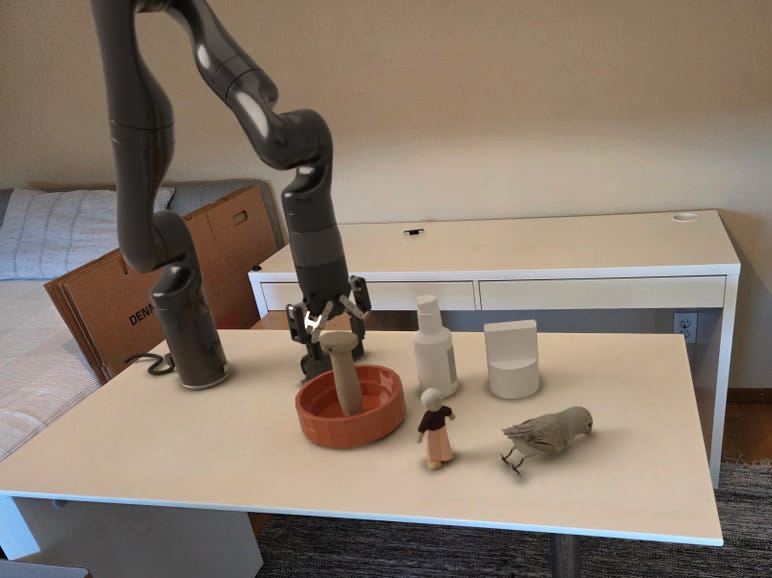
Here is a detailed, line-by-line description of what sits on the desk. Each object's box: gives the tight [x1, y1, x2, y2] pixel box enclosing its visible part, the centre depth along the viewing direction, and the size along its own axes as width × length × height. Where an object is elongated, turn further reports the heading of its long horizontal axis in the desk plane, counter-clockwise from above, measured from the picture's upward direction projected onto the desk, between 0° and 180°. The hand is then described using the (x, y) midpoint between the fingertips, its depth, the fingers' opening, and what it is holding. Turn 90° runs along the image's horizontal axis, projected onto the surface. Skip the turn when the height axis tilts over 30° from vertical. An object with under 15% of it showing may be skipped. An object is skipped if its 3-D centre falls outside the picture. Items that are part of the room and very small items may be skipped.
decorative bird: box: [499, 406, 594, 478], centre depth 94 cm, size 5×16×8 cm, turn 122°
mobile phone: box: [299, 340, 365, 385], centre depth 124 cm, size 5×3×15 cm
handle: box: [318, 330, 364, 417], centre depth 105 cm, size 5×6×15 cm
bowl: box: [294, 363, 407, 449], centre depth 107 cm, size 18×18×6 cm
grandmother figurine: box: [414, 388, 457, 471], centre depth 94 cm, size 8×4×13 cm, turn 148°
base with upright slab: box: [483, 319, 540, 400], centre depth 111 cm, size 9×9×12 cm
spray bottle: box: [412, 293, 459, 399], centre depth 111 cm, size 7×7×18 cm
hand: (339, 350), depth 102 cm, fingers open, 8 cm apart
